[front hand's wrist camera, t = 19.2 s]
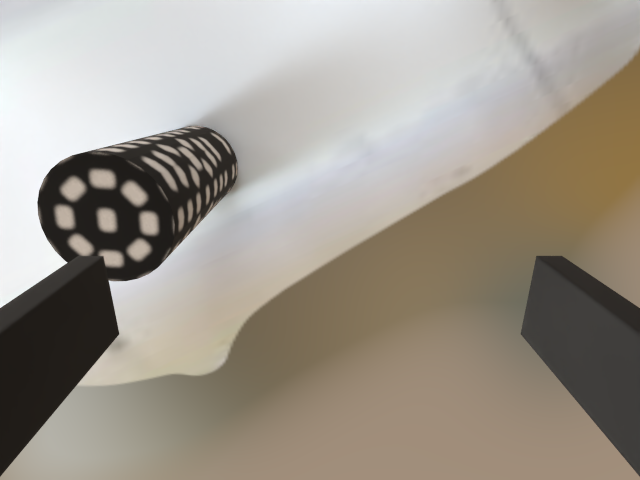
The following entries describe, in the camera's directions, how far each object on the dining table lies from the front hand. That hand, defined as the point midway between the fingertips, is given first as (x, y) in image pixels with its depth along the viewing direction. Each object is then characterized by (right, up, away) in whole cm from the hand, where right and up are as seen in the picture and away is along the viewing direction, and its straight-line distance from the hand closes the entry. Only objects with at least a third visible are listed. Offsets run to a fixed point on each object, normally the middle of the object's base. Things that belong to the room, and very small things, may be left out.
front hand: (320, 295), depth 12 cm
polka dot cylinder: (-13, +6, +22) cm, 26 cm away
